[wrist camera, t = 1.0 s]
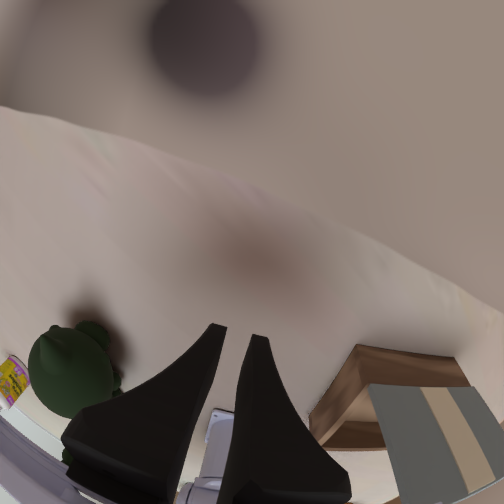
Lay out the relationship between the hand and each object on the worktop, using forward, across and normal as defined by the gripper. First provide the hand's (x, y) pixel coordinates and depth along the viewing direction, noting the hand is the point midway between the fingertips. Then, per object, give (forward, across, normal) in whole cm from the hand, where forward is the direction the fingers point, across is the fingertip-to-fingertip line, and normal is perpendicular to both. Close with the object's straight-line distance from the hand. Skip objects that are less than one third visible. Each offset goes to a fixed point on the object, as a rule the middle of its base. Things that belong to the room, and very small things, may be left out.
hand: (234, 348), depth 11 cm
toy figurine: (+11, +15, +20) cm, 27 cm away
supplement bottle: (+11, +38, +36) cm, 53 cm away
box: (+10, -18, +12) cm, 24 cm away
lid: (-1, -18, +6) cm, 19 cm away
